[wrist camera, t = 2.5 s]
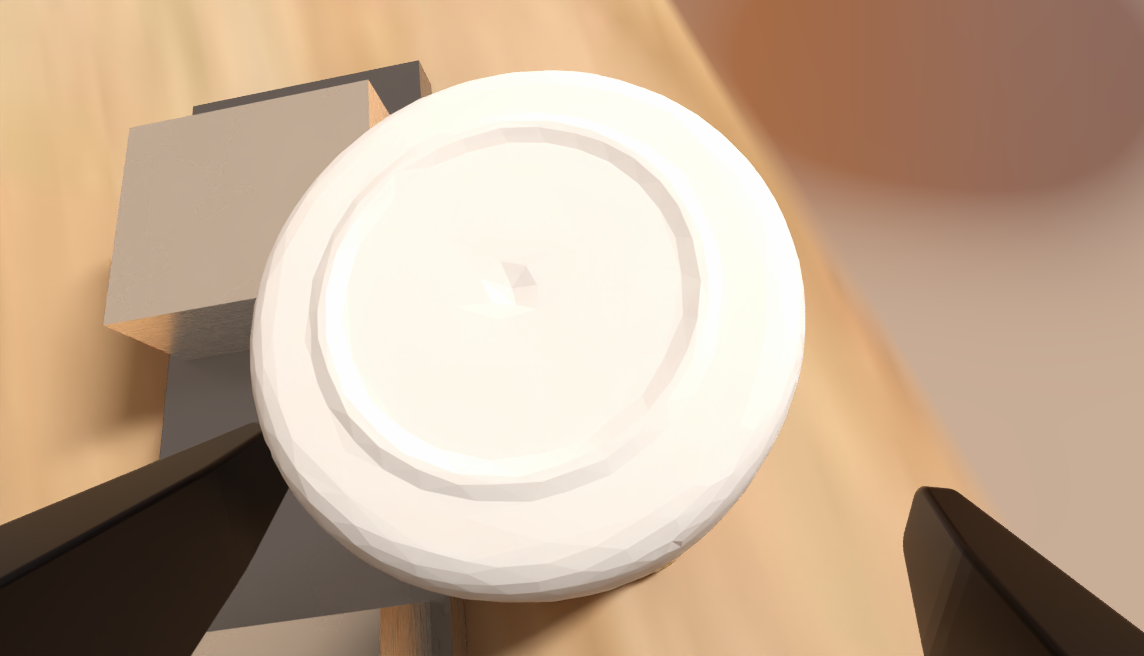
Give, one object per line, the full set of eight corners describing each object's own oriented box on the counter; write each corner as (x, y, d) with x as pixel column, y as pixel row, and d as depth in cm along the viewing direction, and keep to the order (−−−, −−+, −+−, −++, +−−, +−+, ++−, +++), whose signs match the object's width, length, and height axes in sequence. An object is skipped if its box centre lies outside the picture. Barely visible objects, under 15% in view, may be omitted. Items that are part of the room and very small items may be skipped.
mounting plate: (494, 1072, 14) (426, 1272, 10) (138, 1100, 14) (-58, 1297, 11) (430, 85, 23) (382, -14, 19) (215, 128, 24) (126, 40, 20)
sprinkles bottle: (706, 586, 16) (839, 643, 4) (528, 572, 17) (151, 582, 5) (706, 406, 18) (803, 33, 5) (543, 399, 19) (291, 55, 6)
